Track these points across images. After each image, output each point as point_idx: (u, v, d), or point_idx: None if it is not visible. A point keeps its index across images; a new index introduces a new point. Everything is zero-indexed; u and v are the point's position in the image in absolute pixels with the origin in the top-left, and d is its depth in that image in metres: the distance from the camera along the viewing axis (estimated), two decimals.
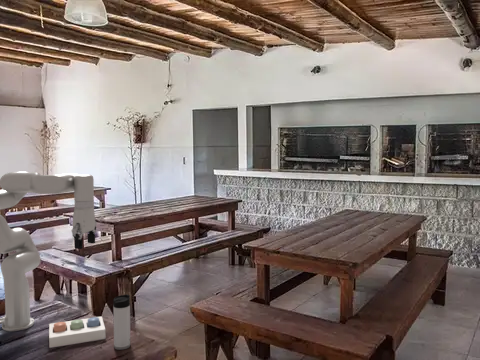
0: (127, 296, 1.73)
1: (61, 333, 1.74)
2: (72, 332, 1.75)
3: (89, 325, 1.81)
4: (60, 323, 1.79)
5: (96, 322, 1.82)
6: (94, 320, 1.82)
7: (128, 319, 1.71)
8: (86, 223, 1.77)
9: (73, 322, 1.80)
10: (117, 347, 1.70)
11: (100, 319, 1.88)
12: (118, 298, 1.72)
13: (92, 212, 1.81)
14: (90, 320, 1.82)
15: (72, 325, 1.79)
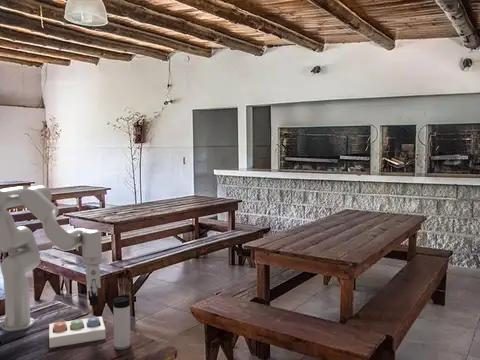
0: (127, 296, 1.73)
1: (61, 333, 1.74)
2: (72, 332, 1.75)
3: (89, 325, 1.81)
4: (60, 323, 1.79)
5: (96, 322, 1.82)
6: (94, 320, 1.82)
7: (128, 319, 1.71)
8: None
9: (73, 322, 1.80)
10: (117, 347, 1.70)
11: (100, 319, 1.88)
12: (118, 298, 1.72)
13: (86, 270, 1.78)
14: (90, 320, 1.82)
15: (72, 325, 1.79)
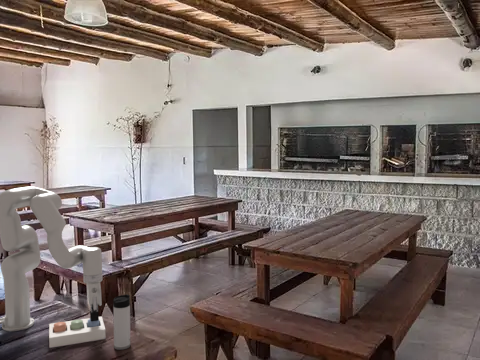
0: (127, 296, 1.73)
1: (61, 333, 1.74)
2: (72, 332, 1.75)
3: (89, 326, 1.81)
4: (60, 323, 1.79)
5: (96, 323, 1.82)
6: (94, 321, 1.82)
7: (128, 319, 1.71)
8: None
9: (73, 322, 1.80)
10: (117, 347, 1.70)
11: (100, 319, 1.88)
12: (118, 298, 1.72)
13: (87, 287, 1.79)
14: (90, 321, 1.82)
15: (72, 325, 1.79)
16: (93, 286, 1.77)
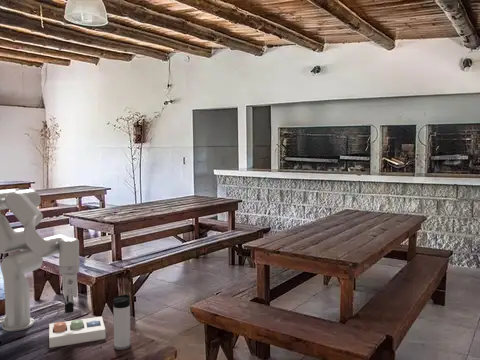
0: (127, 296, 1.73)
1: (61, 333, 1.74)
2: (72, 332, 1.75)
3: None
4: (60, 323, 1.79)
5: None
6: (94, 324, 1.82)
7: (128, 319, 1.71)
8: None
9: (73, 322, 1.80)
10: (117, 347, 1.70)
11: (100, 319, 1.88)
12: (118, 298, 1.72)
13: (63, 278, 1.75)
14: (90, 324, 1.82)
15: (72, 325, 1.79)
16: (69, 277, 1.74)
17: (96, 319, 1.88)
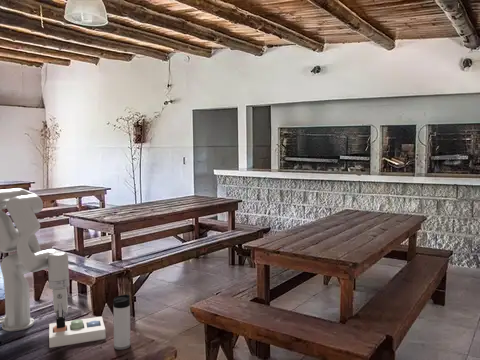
0: (127, 296, 1.73)
1: (61, 333, 1.74)
2: (72, 332, 1.75)
3: None
4: None
5: None
6: (94, 324, 1.82)
7: (128, 319, 1.71)
8: None
9: (73, 322, 1.80)
10: (117, 347, 1.70)
11: (100, 319, 1.88)
12: (118, 298, 1.72)
13: None
14: (90, 324, 1.82)
15: (72, 325, 1.79)
16: (58, 292, 1.72)
17: (96, 319, 1.88)
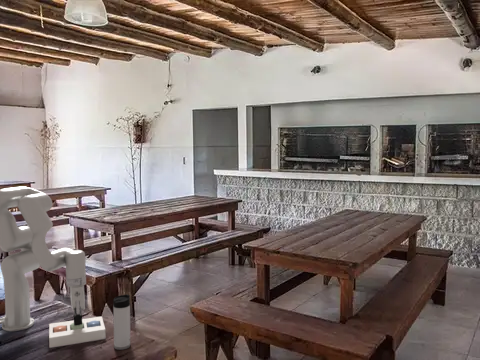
0: (127, 296, 1.73)
1: (61, 333, 1.74)
2: (72, 332, 1.75)
3: None
4: (60, 326, 1.79)
5: None
6: (94, 324, 1.82)
7: (128, 319, 1.71)
8: None
9: (73, 324, 1.80)
10: (117, 347, 1.70)
11: (100, 319, 1.88)
12: (118, 298, 1.72)
13: (70, 291, 1.76)
14: (90, 324, 1.82)
15: (72, 327, 1.79)
16: (76, 290, 1.75)
17: (96, 319, 1.88)
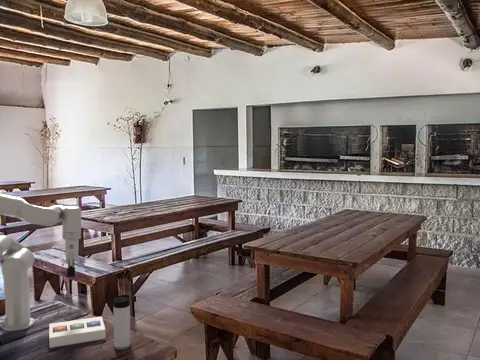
0: (127, 296, 1.73)
1: (61, 333, 1.74)
2: (72, 332, 1.75)
3: None
4: (60, 326, 1.79)
5: None
6: (94, 324, 1.82)
7: (128, 319, 1.71)
8: None
9: (73, 326, 1.80)
10: (117, 347, 1.70)
11: (100, 319, 1.88)
12: (118, 298, 1.72)
13: (65, 244, 1.88)
14: (90, 324, 1.82)
15: (72, 329, 1.79)
16: (70, 242, 1.86)
17: (96, 319, 1.88)
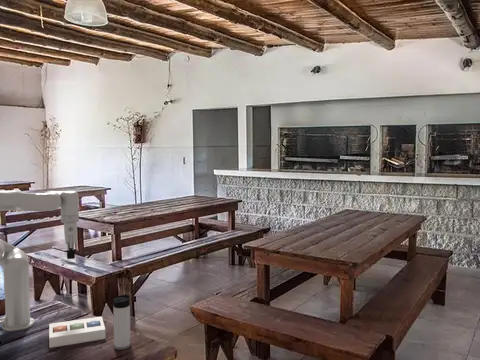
0: (127, 296, 1.73)
1: (61, 333, 1.74)
2: (72, 332, 1.75)
3: None
4: (60, 326, 1.79)
5: None
6: (94, 324, 1.82)
7: (128, 319, 1.71)
8: None
9: (73, 326, 1.80)
10: (117, 347, 1.70)
11: (100, 319, 1.88)
12: (118, 298, 1.72)
13: (64, 227, 1.94)
14: (90, 324, 1.82)
15: (72, 329, 1.79)
16: (69, 225, 1.93)
17: (96, 319, 1.88)
